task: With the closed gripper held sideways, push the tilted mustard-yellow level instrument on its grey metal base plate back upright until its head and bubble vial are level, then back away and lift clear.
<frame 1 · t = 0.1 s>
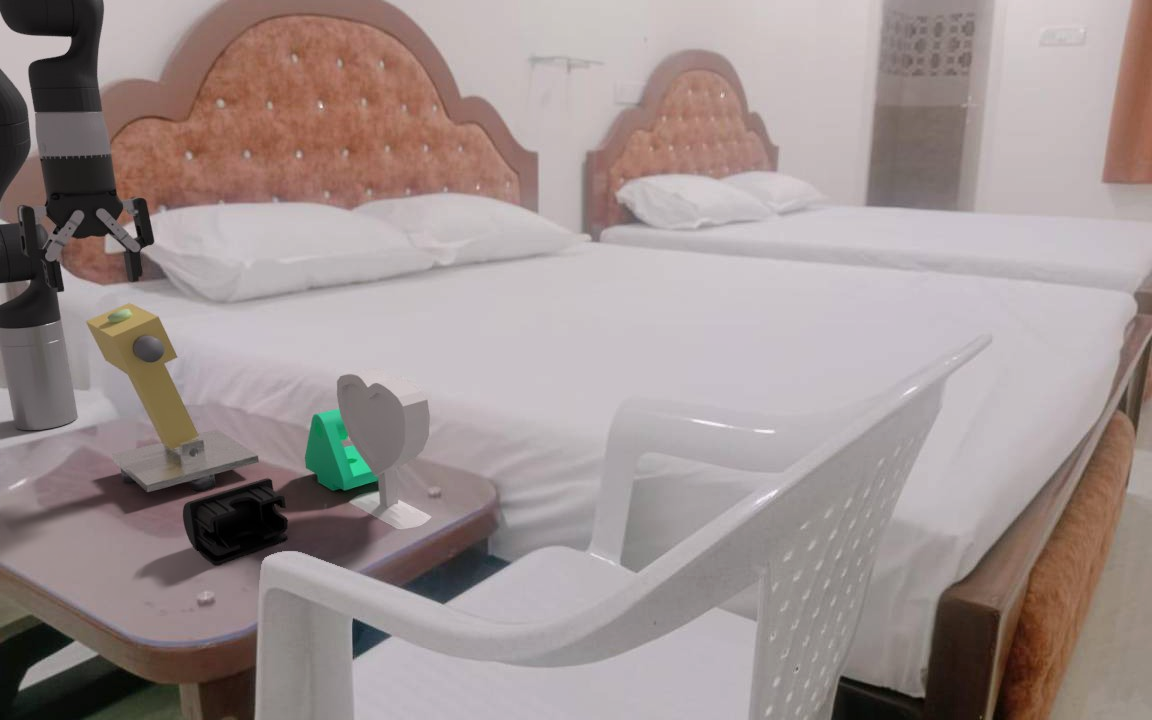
hand: (96, 286, 110), 29 cm above the table, tool pointing down, fingers open, 8 cm apart
camera mount: (351, 480, 125), on the table, touching heart sculpture
heart sculpture: (389, 510, 116), on the table, touching camera mount
instrument: (183, 445, 126), point 5 cm above the table, hinge at 16.0°
end cap: (240, 545, 107), on the table
grey metal base plate: (187, 474, 127), on the table
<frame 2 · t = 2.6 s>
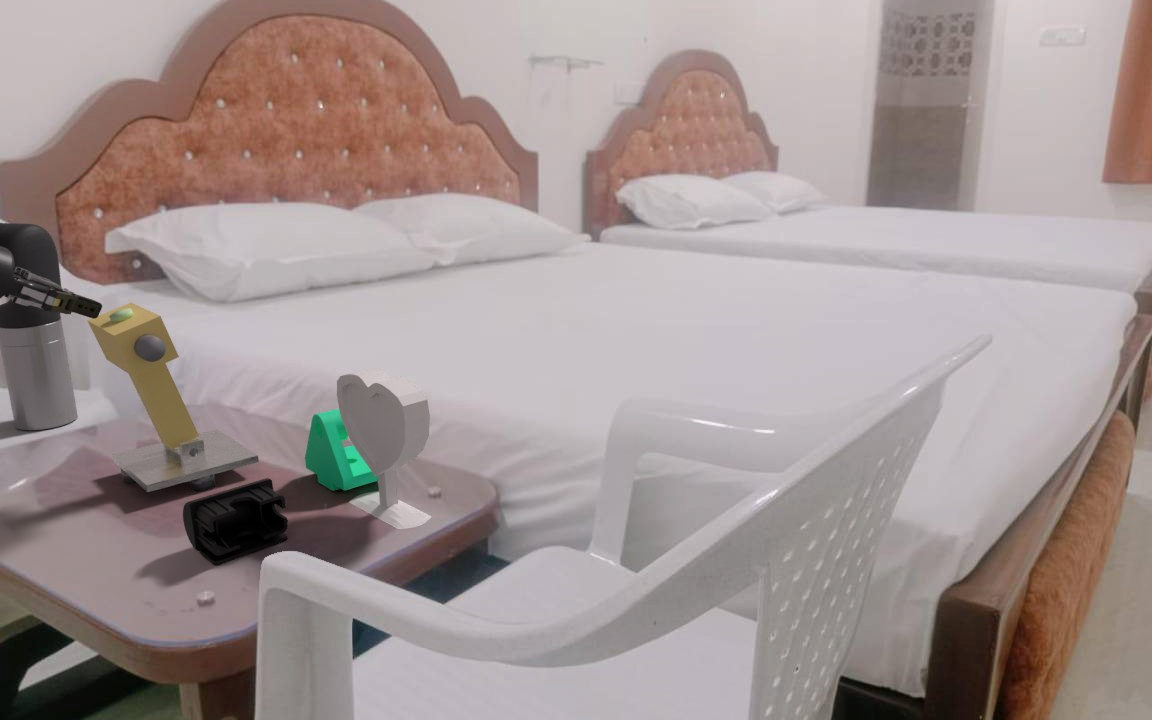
hand: (97, 310, 118), 25 cm above the table, tool tilted 60°, fingers closed
instrument: (183, 445, 126), point 5 cm above the table, hinge at 15.3°
everything else where it was.
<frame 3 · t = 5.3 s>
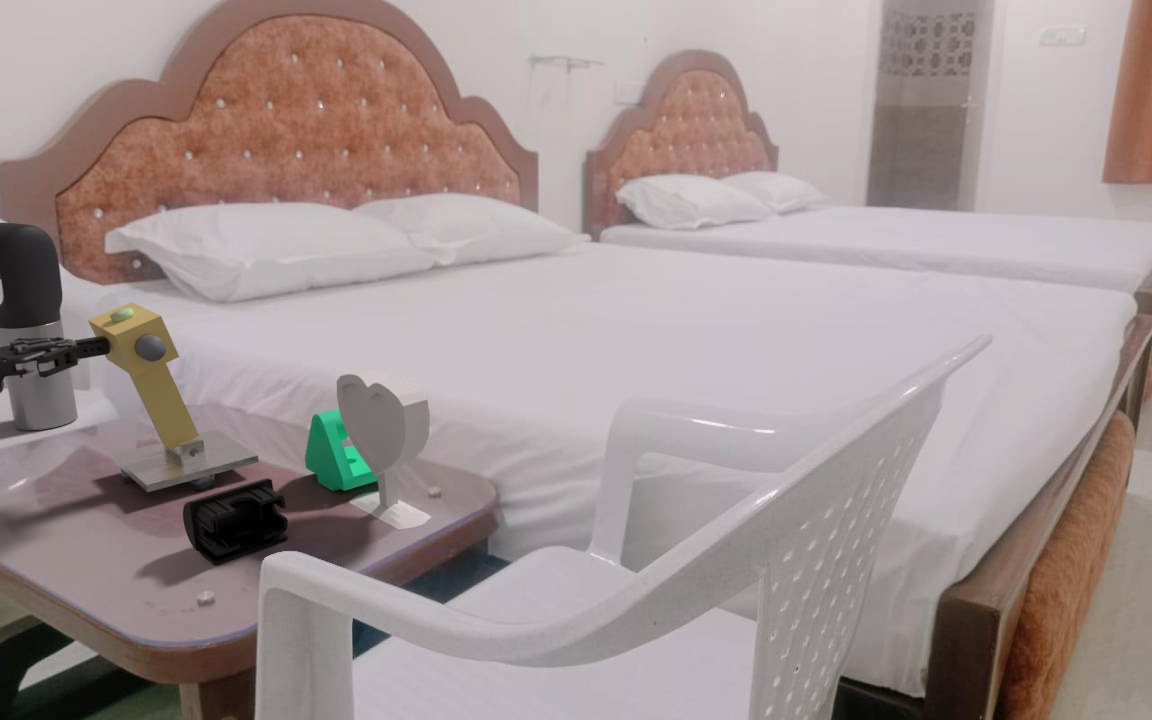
hand: (107, 344, 117), 21 cm above the table, tool horizontal, fingers closed
instrument: (183, 445, 126), point 5 cm above the table, hinge at 15.1°, touching gripper
everything else where it was.
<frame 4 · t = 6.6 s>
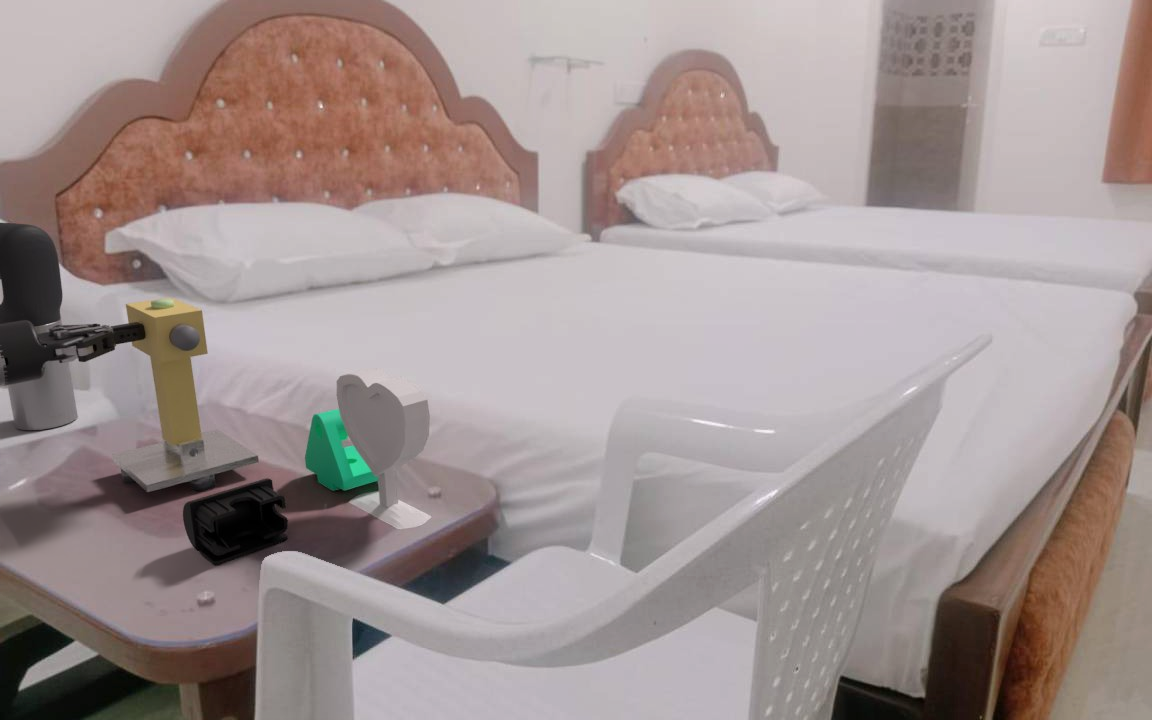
hand: (142, 330, 119), 22 cm above the table, tool horizontal, fingers closed
instrument: (183, 445, 126), point 5 cm above the table, hinge at 0.3°, touching gripper
everything else where it was.
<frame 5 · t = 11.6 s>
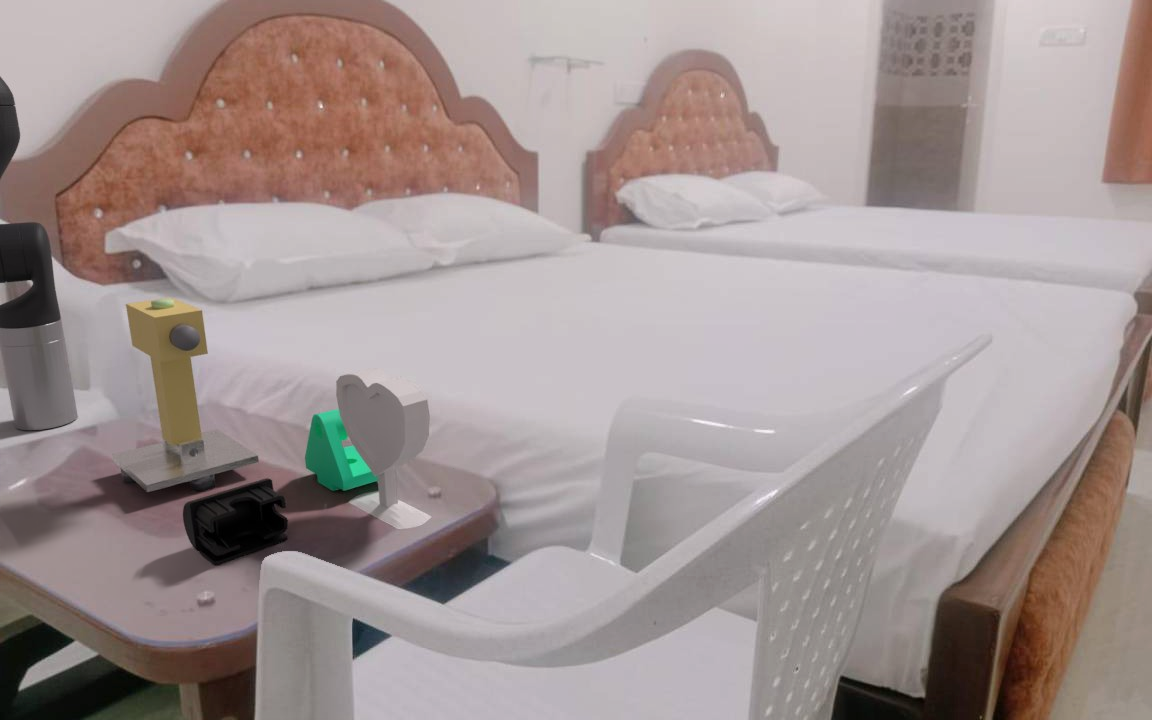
instrument: (183, 445, 126), point 5 cm above the table, hinge at 0.3°
everything else where it was.
at the end: instrument at +0° (first picture: +16°) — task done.
